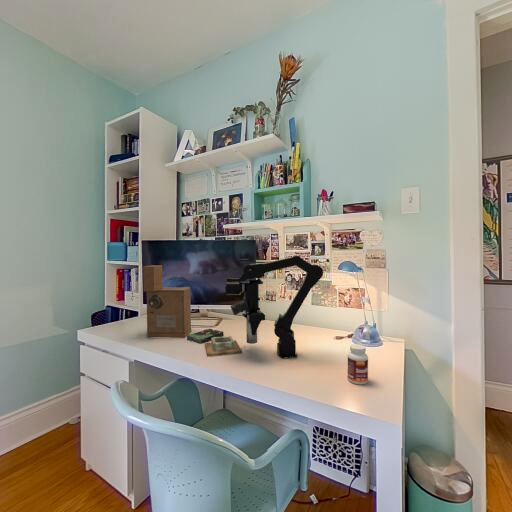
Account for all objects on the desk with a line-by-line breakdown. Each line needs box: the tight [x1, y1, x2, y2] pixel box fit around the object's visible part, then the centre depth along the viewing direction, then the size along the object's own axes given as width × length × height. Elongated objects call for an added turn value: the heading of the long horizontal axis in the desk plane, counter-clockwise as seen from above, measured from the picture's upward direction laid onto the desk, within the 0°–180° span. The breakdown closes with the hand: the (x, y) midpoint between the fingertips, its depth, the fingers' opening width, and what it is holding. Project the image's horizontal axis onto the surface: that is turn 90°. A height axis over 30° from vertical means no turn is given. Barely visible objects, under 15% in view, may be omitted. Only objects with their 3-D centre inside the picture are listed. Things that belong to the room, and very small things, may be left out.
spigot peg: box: [245, 317, 258, 345], centre depth 115 cm, size 4×4×10 cm
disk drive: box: [186, 328, 225, 345], centre depth 137 cm, size 10×3×15 cm
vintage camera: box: [142, 264, 192, 339], centre depth 141 cm, size 19×14×35 cm
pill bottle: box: [347, 343, 369, 385], centre depth 91 cm, size 6×6×11 cm
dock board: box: [204, 335, 243, 358], centre depth 121 cm, size 14×14×4 cm
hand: (251, 333), depth 115 cm, fingers closed on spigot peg, 4 cm apart
